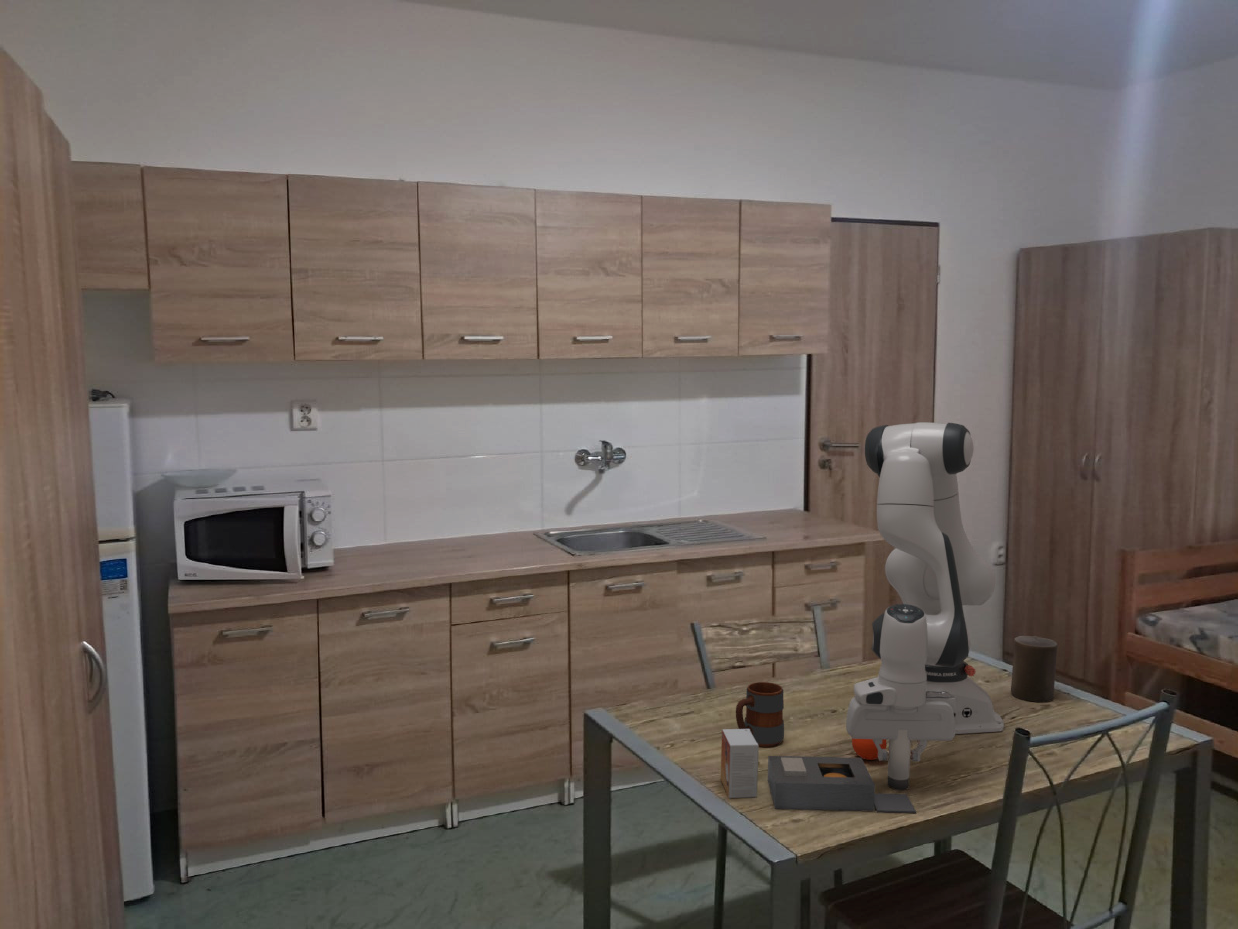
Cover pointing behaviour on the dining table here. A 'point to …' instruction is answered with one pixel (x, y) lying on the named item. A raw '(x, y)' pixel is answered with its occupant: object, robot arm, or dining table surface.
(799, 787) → the panel
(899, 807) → the mat
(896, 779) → the white cylinder
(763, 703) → the mug
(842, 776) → the orange rounded piece
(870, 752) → the clementine
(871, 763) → the dining table surface
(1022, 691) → the pillar candle
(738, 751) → the small box
